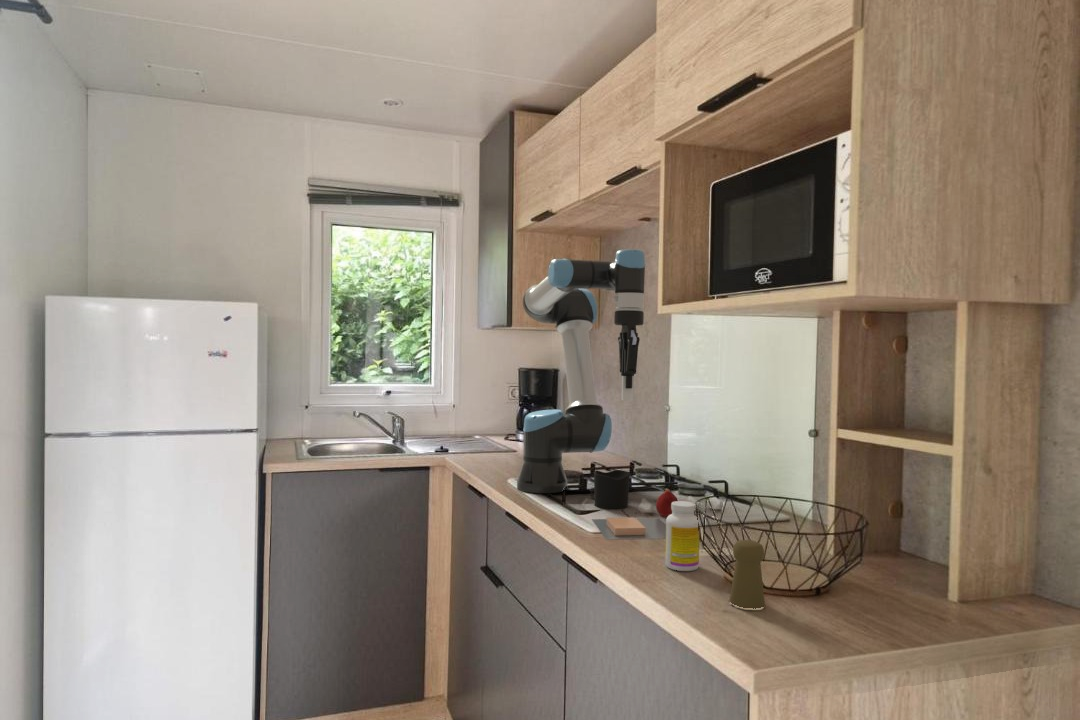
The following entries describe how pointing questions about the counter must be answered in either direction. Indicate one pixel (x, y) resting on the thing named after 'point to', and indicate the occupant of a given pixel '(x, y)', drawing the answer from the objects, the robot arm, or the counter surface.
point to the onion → (665, 503)
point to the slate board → (653, 531)
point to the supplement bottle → (682, 537)
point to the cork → (747, 575)
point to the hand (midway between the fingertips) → (627, 400)
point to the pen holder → (611, 489)
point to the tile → (625, 526)
